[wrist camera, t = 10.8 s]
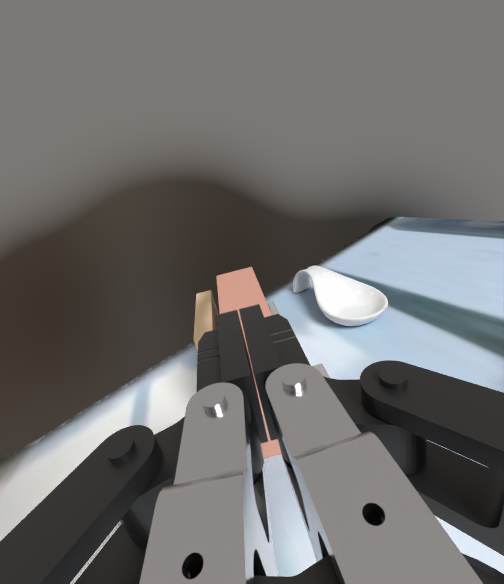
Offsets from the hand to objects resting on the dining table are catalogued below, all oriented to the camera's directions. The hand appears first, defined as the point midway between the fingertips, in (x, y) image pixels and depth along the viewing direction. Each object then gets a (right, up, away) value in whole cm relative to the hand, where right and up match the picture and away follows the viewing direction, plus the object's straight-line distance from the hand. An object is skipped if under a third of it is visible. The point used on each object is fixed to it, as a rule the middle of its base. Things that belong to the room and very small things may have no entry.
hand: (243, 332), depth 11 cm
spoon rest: (+17, -2, +53) cm, 56 cm away
